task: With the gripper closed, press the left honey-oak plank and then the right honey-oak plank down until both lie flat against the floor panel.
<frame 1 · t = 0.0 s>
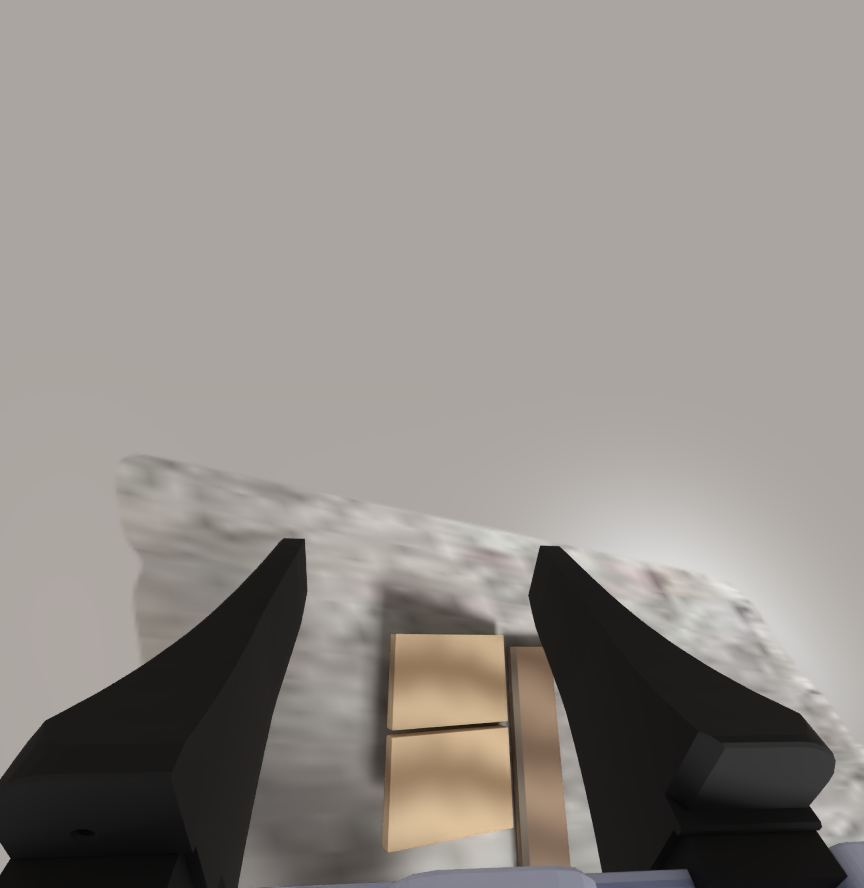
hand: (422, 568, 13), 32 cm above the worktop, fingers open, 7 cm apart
floor panel: (534, 757, 39), on the worktop
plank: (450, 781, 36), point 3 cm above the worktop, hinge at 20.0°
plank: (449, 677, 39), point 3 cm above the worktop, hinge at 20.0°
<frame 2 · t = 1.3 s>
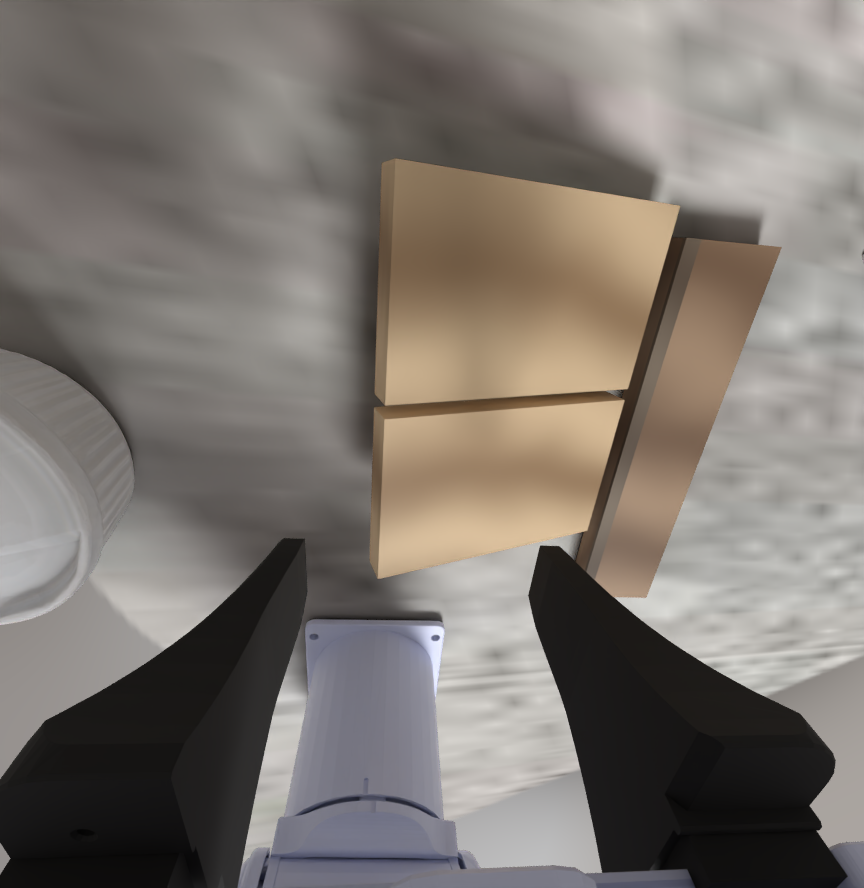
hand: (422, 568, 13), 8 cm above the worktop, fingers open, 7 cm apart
floor panel: (648, 441, 22), on the worktop
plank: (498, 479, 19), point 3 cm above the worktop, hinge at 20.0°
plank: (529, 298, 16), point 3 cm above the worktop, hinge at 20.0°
ramekin: (33, 446, 20), on the worktop
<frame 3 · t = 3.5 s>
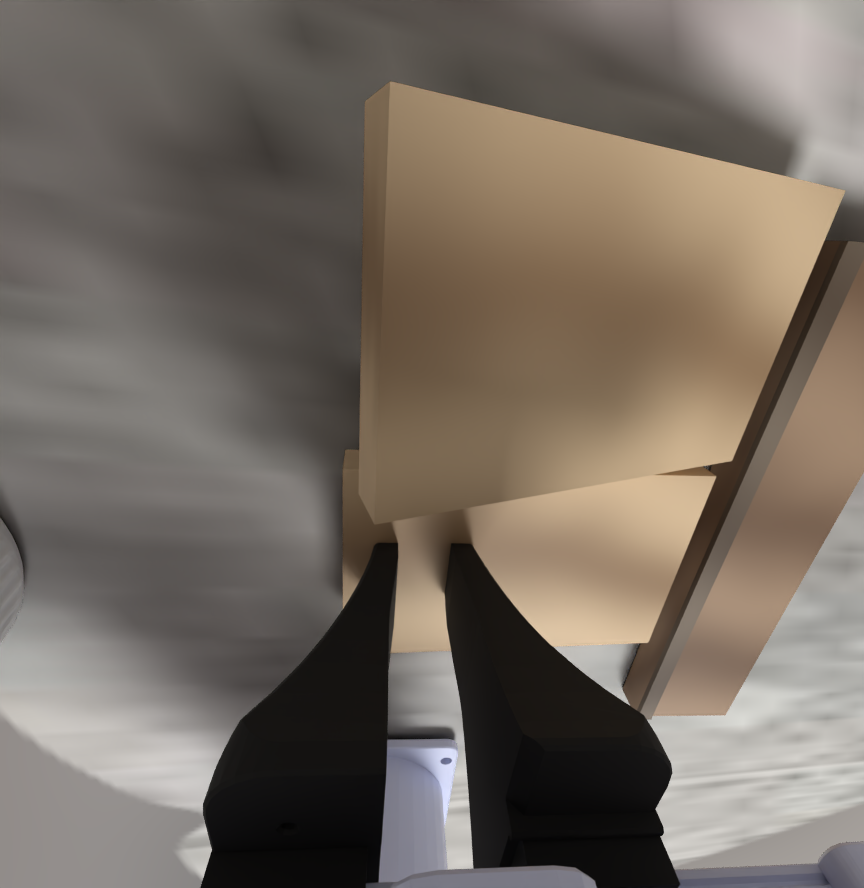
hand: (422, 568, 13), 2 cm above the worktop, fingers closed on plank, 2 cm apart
floor panel: (742, 521, 16), on the worktop
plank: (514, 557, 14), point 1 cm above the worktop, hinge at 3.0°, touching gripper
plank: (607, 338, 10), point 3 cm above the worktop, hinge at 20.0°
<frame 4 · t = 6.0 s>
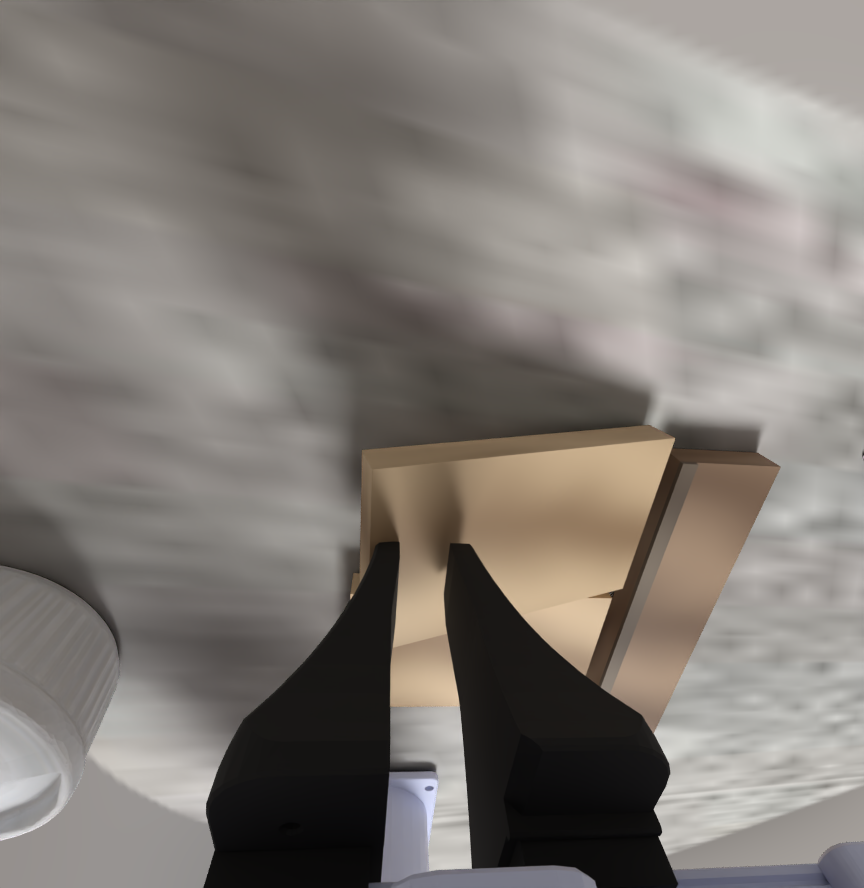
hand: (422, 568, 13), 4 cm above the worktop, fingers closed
floor panel: (645, 616, 21), on the worktop
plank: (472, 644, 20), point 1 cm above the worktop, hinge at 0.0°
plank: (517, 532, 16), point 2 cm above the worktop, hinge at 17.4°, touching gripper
ramekin: (16, 635, 20), on the worktop
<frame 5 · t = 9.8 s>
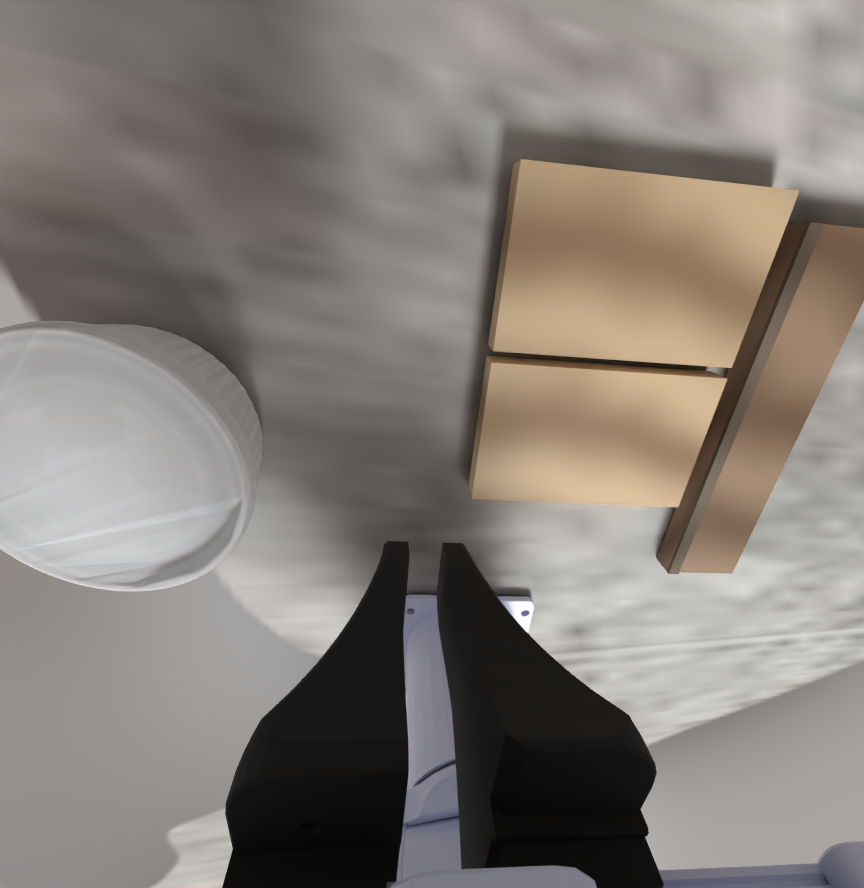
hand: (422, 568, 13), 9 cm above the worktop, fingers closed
floor panel: (745, 421, 23), on the worktop
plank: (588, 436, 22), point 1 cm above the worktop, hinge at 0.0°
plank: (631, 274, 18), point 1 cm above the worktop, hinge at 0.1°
ramekin: (165, 423, 21), on the worktop
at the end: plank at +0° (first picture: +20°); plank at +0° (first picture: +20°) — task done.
